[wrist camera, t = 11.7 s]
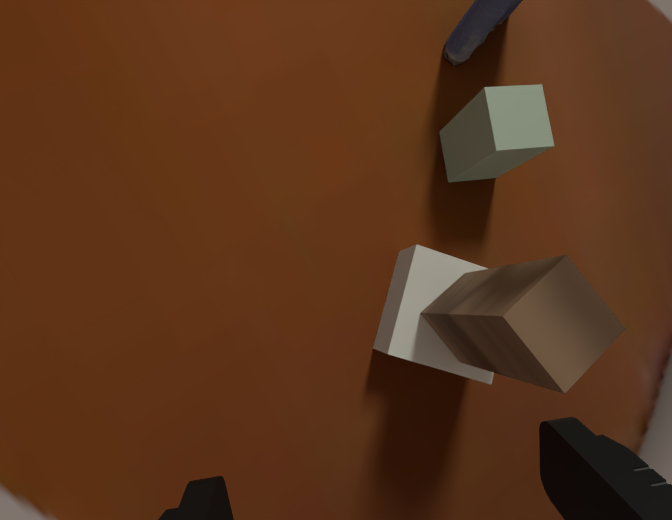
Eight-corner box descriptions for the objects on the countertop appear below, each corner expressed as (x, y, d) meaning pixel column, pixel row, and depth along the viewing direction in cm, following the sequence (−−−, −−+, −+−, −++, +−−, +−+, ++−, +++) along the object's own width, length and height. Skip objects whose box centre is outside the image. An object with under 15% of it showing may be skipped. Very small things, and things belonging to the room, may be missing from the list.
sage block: (448, 182, 33) (496, 150, 26) (439, 131, 33) (484, 87, 26) (495, 178, 34) (554, 145, 27) (486, 128, 34) (541, 84, 27)
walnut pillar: (460, 362, 27) (564, 393, 18) (420, 312, 27) (502, 316, 18) (503, 321, 28) (626, 328, 18) (464, 273, 28) (566, 254, 18)
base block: (371, 347, 30) (387, 354, 27) (397, 252, 32) (416, 244, 28) (463, 374, 32) (491, 384, 28) (484, 281, 33) (514, 277, 29)
